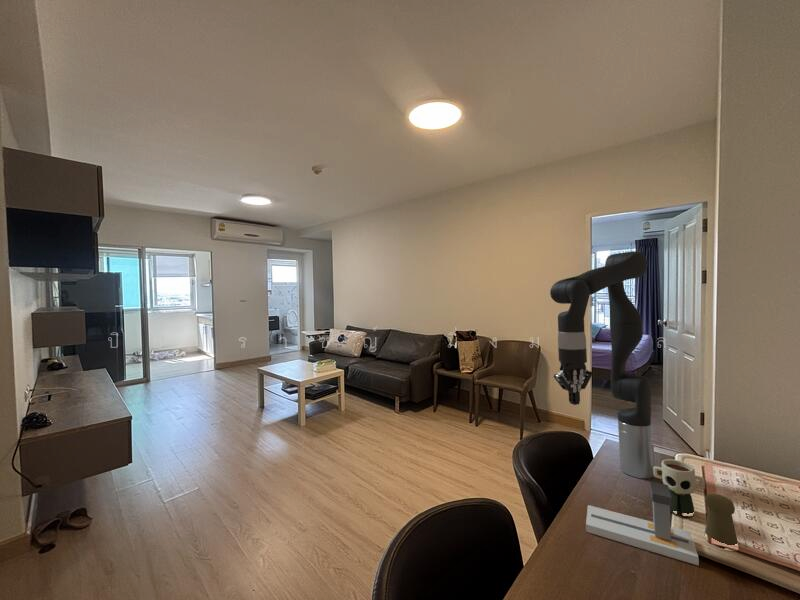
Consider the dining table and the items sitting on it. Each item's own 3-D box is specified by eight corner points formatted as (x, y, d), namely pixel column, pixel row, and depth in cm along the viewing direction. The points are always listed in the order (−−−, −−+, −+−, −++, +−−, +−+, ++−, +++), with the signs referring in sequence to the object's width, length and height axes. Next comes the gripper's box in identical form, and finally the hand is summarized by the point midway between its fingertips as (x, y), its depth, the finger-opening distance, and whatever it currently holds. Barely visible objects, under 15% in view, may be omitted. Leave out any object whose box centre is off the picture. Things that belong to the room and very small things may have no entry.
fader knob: (654, 538, 79) (652, 493, 79) (651, 523, 84) (649, 481, 84) (673, 544, 77) (671, 497, 77) (669, 528, 82) (667, 484, 82)
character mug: (654, 510, 92) (652, 464, 92) (655, 498, 97) (653, 454, 97) (707, 526, 85) (705, 477, 85) (705, 512, 90) (703, 465, 90)
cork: (746, 552, 76) (744, 505, 76) (716, 549, 77) (714, 503, 77) (726, 534, 82) (724, 490, 82) (698, 531, 83) (696, 488, 83)
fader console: (586, 531, 85) (585, 523, 85) (588, 511, 93) (587, 504, 93) (698, 565, 73) (698, 556, 73) (690, 539, 81) (690, 531, 81)
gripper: (563, 350, 93) (566, 411, 93) (599, 346, 96) (602, 404, 97) (544, 346, 100) (547, 403, 100) (579, 343, 104) (581, 397, 104)
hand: (574, 403), depth 98 cm, fingers closed
